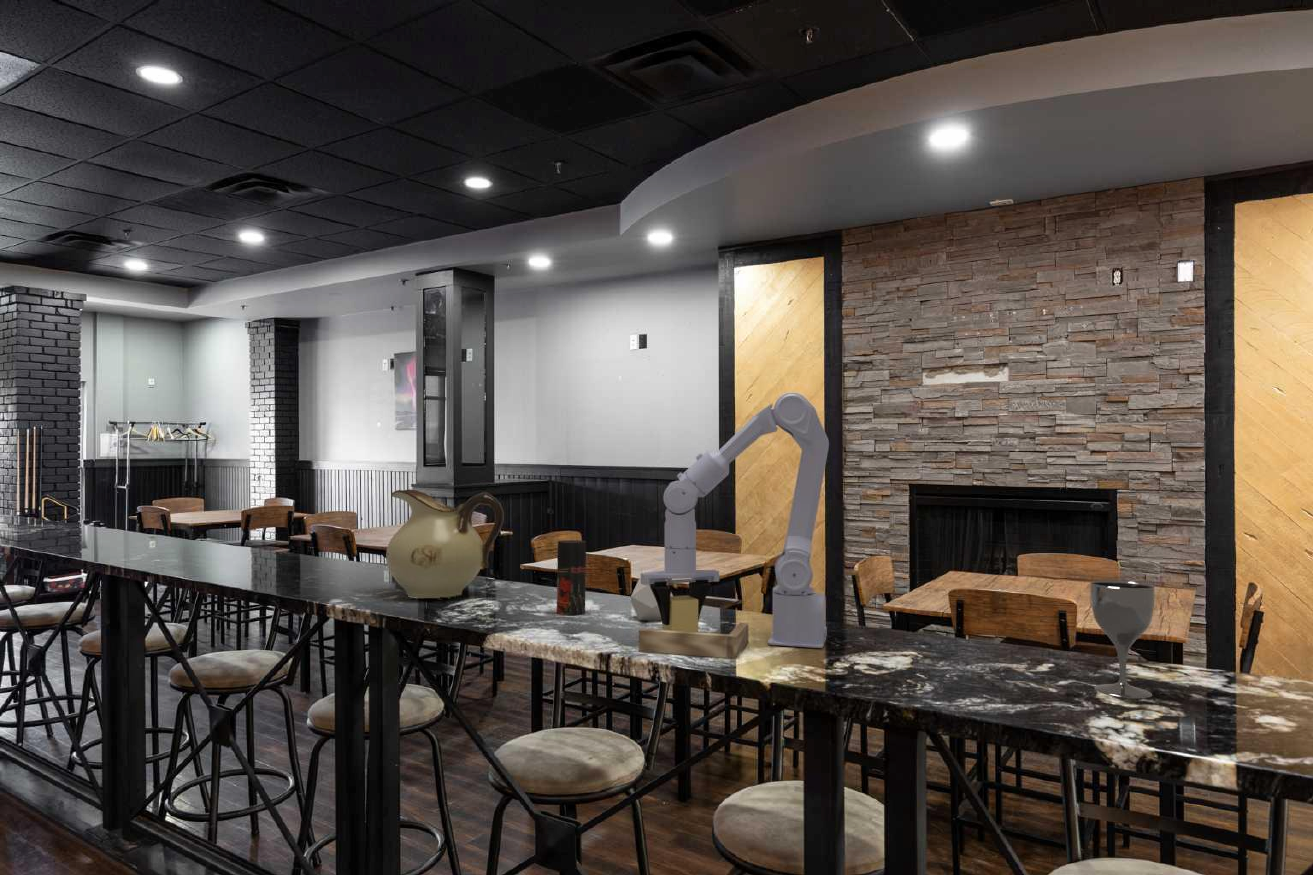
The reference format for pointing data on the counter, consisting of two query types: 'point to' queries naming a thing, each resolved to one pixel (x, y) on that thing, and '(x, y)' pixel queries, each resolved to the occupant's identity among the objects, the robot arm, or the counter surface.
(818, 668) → the counter surface
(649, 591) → the die
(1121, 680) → the wine glass
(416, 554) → the pitcher
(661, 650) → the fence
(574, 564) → the deodorant
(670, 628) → the block
